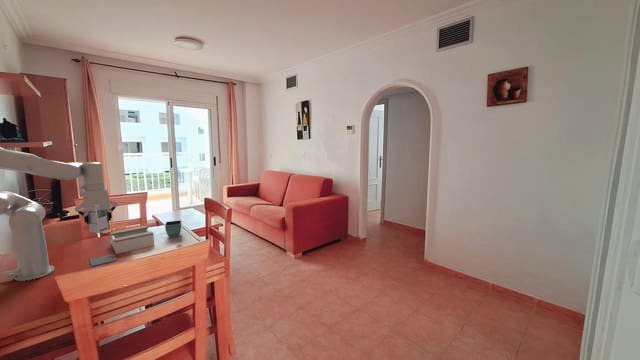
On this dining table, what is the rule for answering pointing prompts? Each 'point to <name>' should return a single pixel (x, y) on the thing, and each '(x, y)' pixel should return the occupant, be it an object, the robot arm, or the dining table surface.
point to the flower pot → (173, 228)
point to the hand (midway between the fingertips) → (98, 221)
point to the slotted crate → (131, 239)
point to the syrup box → (98, 220)
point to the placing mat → (103, 260)
